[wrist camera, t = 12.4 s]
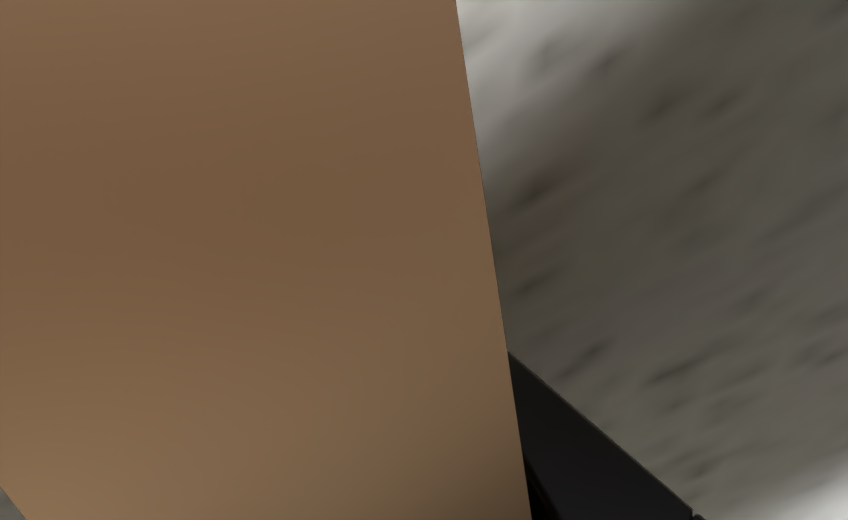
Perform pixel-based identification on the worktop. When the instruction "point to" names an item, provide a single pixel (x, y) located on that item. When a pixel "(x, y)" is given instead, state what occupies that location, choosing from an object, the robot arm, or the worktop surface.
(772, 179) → the worktop surface
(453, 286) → the brown rectangular bar
